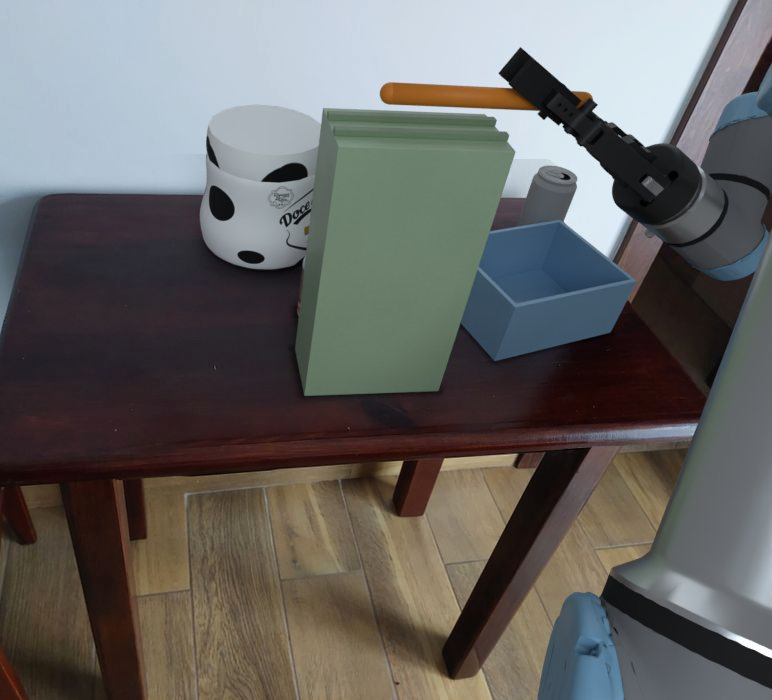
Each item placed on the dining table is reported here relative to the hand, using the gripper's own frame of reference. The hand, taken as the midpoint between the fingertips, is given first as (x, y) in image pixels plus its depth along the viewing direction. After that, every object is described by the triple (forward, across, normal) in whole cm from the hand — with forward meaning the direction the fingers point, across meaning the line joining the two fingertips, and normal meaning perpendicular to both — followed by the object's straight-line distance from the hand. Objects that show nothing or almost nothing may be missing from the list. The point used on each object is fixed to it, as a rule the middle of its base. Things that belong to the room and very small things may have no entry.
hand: (516, 67), depth 58 cm
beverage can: (-40, +28, -18) cm, 52 cm away
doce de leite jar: (-3, +26, -40) cm, 48 cm away
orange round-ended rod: (0, 0, -4) cm, 4 cm away
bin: (-32, +11, -23) cm, 41 cm away
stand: (-11, 0, -35) cm, 37 cm away
